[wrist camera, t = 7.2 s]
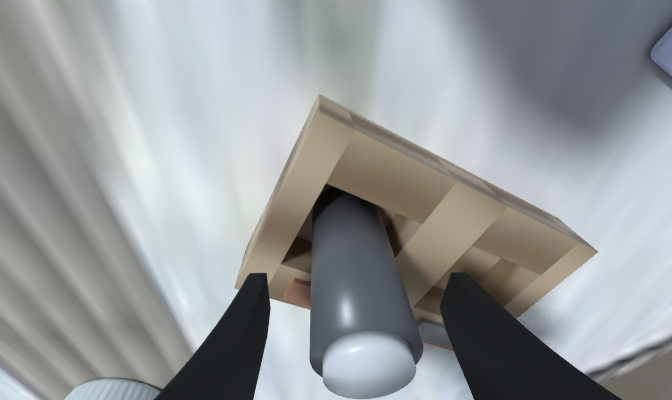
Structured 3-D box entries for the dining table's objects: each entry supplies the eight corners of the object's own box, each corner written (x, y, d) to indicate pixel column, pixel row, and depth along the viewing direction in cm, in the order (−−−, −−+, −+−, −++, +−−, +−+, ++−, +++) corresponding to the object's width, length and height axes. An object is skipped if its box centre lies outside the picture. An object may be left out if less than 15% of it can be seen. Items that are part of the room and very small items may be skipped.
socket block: (318, 94, 13) (319, 114, 10) (558, 218, 18) (603, 255, 15) (245, 248, 18) (232, 292, 15) (452, 316, 22) (472, 359, 20)
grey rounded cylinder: (331, 173, 15) (346, 326, 8) (390, 200, 16) (454, 357, 9) (301, 225, 16) (289, 393, 9) (357, 246, 17) (387, 412, 10)
